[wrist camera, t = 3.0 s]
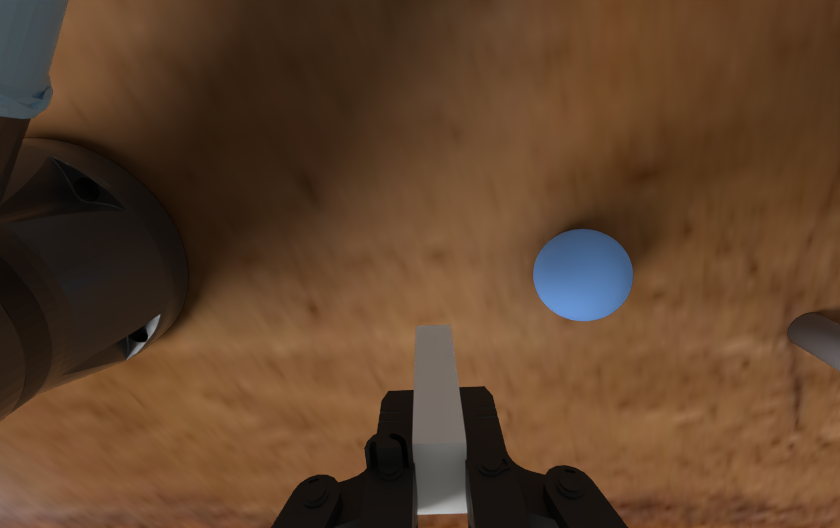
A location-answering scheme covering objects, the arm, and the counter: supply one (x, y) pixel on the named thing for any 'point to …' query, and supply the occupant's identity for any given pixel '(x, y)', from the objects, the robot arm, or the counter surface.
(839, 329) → the post
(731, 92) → the counter surface
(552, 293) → the ball
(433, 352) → the robot arm
